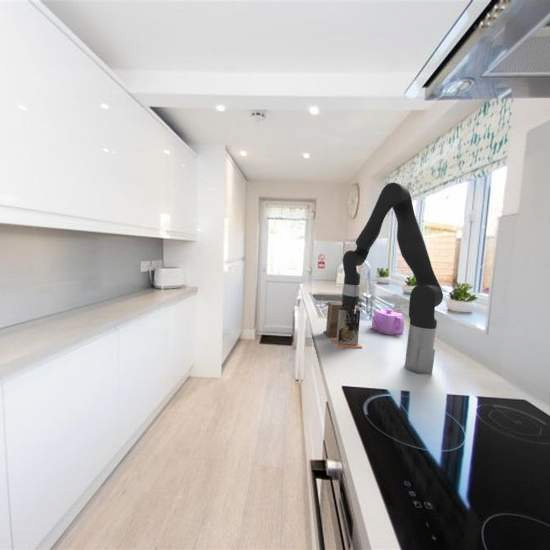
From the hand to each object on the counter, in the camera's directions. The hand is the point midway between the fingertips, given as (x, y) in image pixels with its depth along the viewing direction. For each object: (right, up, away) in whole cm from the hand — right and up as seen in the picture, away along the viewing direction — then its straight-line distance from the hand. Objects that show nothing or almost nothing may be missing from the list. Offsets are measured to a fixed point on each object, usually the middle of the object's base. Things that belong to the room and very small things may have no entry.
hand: (347, 328), depth 140 cm
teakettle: (+28, -7, +29) cm, 41 cm away
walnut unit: (-1, -6, +14) cm, 15 cm away
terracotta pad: (-1, -7, +1) cm, 8 cm away
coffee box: (0, -7, +1) cm, 7 cm away
